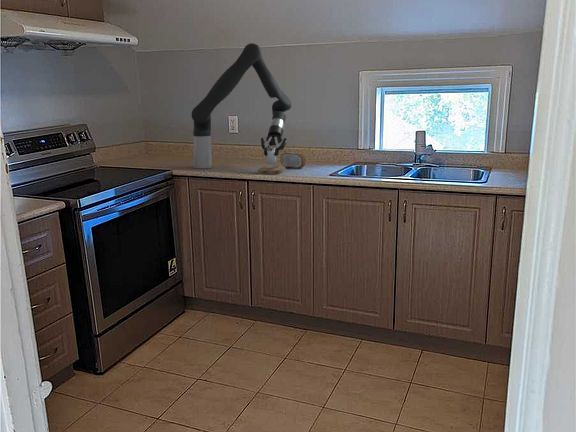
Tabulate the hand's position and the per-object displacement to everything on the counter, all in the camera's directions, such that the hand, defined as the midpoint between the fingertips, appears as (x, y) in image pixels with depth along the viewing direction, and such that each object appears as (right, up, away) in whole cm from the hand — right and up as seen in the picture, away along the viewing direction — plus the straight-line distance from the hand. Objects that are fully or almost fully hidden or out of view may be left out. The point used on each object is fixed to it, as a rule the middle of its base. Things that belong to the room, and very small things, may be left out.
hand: (270, 155), depth 273 cm
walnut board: (0, -8, +4) cm, 9 cm away
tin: (+11, -5, +18) cm, 22 cm away
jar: (+1, -4, +3) cm, 5 cm away
